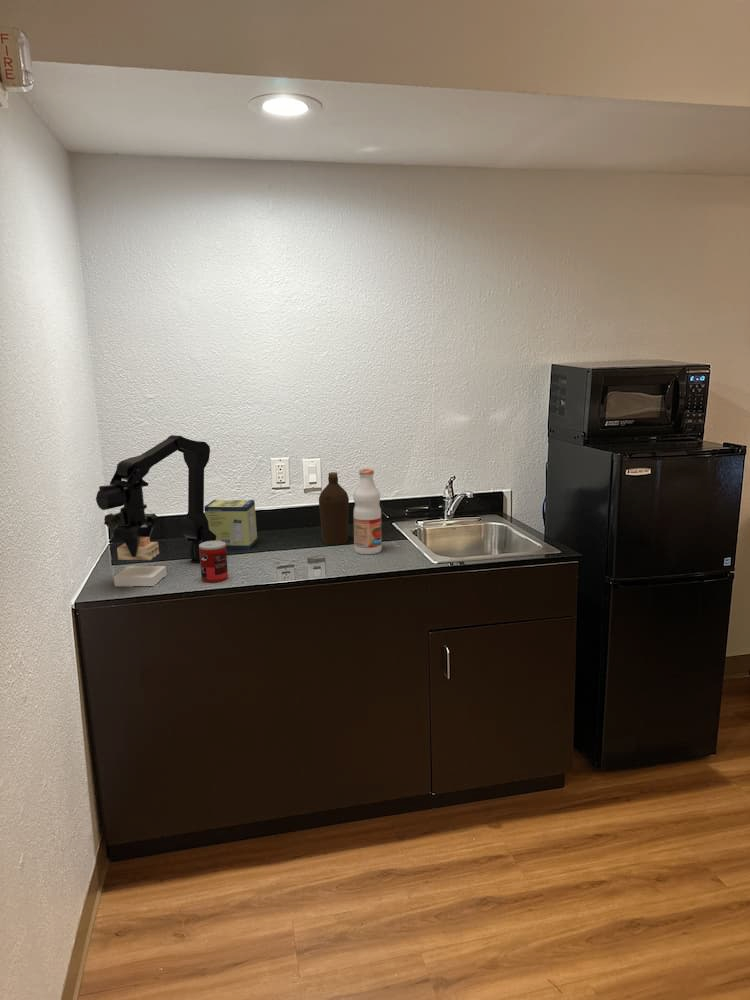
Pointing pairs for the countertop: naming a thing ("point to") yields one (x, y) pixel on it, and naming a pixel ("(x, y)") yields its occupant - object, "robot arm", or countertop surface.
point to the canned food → (213, 561)
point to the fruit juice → (367, 515)
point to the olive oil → (334, 512)
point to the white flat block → (140, 576)
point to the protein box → (233, 522)
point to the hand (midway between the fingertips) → (138, 553)
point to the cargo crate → (143, 542)
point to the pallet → (139, 552)
